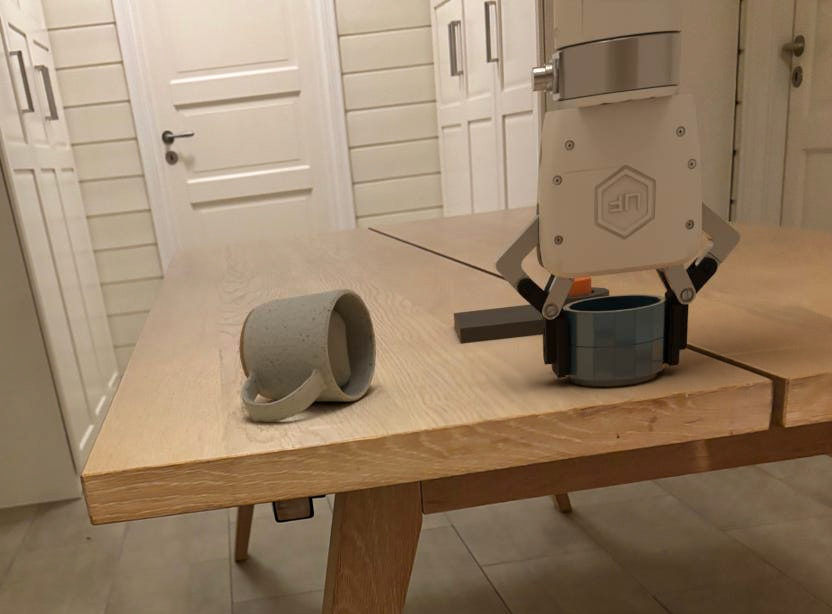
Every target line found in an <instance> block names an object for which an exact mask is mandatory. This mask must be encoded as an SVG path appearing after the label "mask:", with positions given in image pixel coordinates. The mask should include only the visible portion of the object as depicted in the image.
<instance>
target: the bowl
mask: <svg viewBox="0 0 832 614" xmlns="http://www.w3.org/2000/svg"><path fill="white" fill-rule="evenodd" d="M563 316H564V317H565V318H567V319H568V354H569V374H568V375H566V377H567V378H570V380H571V382H572V383H574V384H576V385H579V386H586V387H598V388H609V387H611V388H612V387H623V386H631V385H636V384H637V385H638V384H641V383H644V382H648V381H650V380H654V379H655V378H656V377H657V376H658V373H660V372H662V371H663V370H664V369H665V367H666V363H665V356H666V326H667V299H666V298H665V296H662V295H656V294H639V293H638V294H635V293H634V294H616V295H609V296H605V297H596V298H590V299H585V300H579V301H576V302H572V303H569V304H567V305H565V306H564V307H563Z"/></svg>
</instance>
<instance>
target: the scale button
mask: <svg viewBox="0 0 832 614" xmlns="http://www.w3.org/2000/svg"><path fill="white" fill-rule="evenodd" d="M591 287H592V276H591V277H581V278H575V280H574V282H573V285H572V287H571V289H570V291H569V293H568V296H576V295H585V294H590V293H591Z"/></svg>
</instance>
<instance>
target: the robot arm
mask: <svg viewBox="0 0 832 614" xmlns="http://www.w3.org/2000/svg"><path fill="white" fill-rule="evenodd" d="M682 26H683V0H553V44H554V45H553V47H554V49H553V50H554V51H555V52H554V53H552V56H551V57H552V58H550V59H549V62H544V63H543V65H542V66H533V67H531V71H530V72H531V73H530V74H531V75H530V83H531V91H532V92H539V91H543V92H544V93H549V96H552V101H553V102H554V109H555V110H551V111H546V112H545V114H544V119H543V123H542V132H541V138H540V147H539V157H538V168H537V186H536V212H535V216H534V217H533V218H532V219H531V220H530V221H529V223H527V225H526V226H525V227H524V228H522V230H521V231H520V232H519V233H518V234H517V235H516V236H515V238H513V240H512V241H511V242H510V243H509V244H508V245H507V246H506V247H505V248H504V249H503V250H502V251H501V252H500V254H499V255H498V256H497V257H495V259H494V261H493V265H494V269H495V270H496V271H497V272H498V273H499V274H500V276H502V277H503V279H504V280H505V281H506V282H507V283H508V284H509V285H510V286H511V287H512V288H513V289H514V290H515V291H516V293H518V295H520V296H521V298H523V299H524V300H525V301H526V302H527V303H528V304H529V305H530V304H531V305H532V306H533V307H534V308H535V309H536V310H537V311H539V312H540V313H541V314H542V322H543V335H542V357H543V363H544V365H547V366H548V365H551V371H552V373H553V374H554V375H555V376H556V378H557V379H562V378H566V377H567V376H566V375H568V374H569V354H568V319H567V318H565V317H564V316H563V308H562V307H563V304H564V302H565V300H566V298H567V296H568V293H569V291H570V289H571V287H572V285H573V282H574V280H575V278H581V277H591V278H592V277H598V276H606V275H607V276H609V275H614V274H617V275H618V274H624V273H634V272H644V271H653V270H655V271H656V273H657V275H658V278H659V280H660V281H661V284H662V286H663V288H664V290H665V292H664V298H666V299H667V326H666V356H665V365H668V366H669V367H675V366H679V364H680V354H681V353H680V352H681V351H684V350H685V351H686V349H687V346H688V331H689V328H688V327H689V306H690V305H689V304H691V303H692V302H694V300H695V299H696V297H697V294H698V293H699V292H700V291H701V289H702V288H703V287H704V286H705V285H706V284H707V283H708V282H709V281H710V280H711V279H712V277H713V276H714V275H716V273H717V272H718V269H719V267H720V265H721V264H722V263H723V264H724V262H725V260H726V259H727V258H728V257H729V255H730V254H731V253H732V252H733V250H734V249H735V248H736V247H737V246H738V244H739V242H740V241H741V234H740V233H739V232H738V230H737V229H735V228H734V227H733V226H732V225H730V224H729V223H728V222H726V221H725V220H724V219H723V218H722V217H721V216H719V215H718V214H717V213H716V212H715V211H713V210H712V209H711V208H710V207H709V206H707V205H706V204H705V203H704V202H703V192H702V191H703V189H702V164H701V148H700V147H701V146H700V134H699V123H698V115H697V114H698V113H697V107H696V101H695V96H694V93H693V92H691V93H690V92H689V93H682V94H681V93H680V82H681V57H682V56H681V54H682V53H681V52H682V34H681V33H682V28H683V27H682ZM555 101H556V102H555ZM702 234H703V235H704V236H705V237H706V238H707V245H706V247H705V248H704V249H703V251H702V253H701V254H700V255H699V256H698V253H699V251H700V249H701V243H702ZM535 248H536V249H535ZM534 249H535V250H536V257H537V262H538V264H539V265H540V267H541V268H543V269H545V270H546V271H547V272H548V273H549V274H548V277H547V279H546V282H545V283H544V286H543V288H541V286H539V284H537V283H536V282H535V281H534V280H533V279H532V278H531V277H530V275H528V274H527V272H526V271H525V270H524V269H523V268H522V267H523V266H522V264H523V261H524V260H525V258H526V257H527V256H528V255H529V254H530V253H531V252H532V251H533V250H534ZM696 256H698V257H696ZM695 257H696V258H695ZM694 258H695V259H694ZM693 259H694V260H693ZM691 260H693V261H692V262H691V264H689V266H688V267H687V268H686V267H685V265H684V264H686V263H688V262H689V261H691Z"/></svg>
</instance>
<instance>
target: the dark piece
mask: <svg viewBox="0 0 832 614" xmlns="http://www.w3.org/2000/svg"><path fill="white" fill-rule="evenodd" d="M605 296H610V290H609V289H608V288H606V287H596V286H595V287H594V286H591V293H590V294H585V295H576V296H567V298H566V300H565V302H564V304H563V307H564V306H565V305H567V304H569V303H572V302H576V301H579V300H585V299H590V298H596V297H605ZM563 307H562V308H563ZM453 325H454V329H455V332H456V335H457V338H458V341H459V342H460V343H459V344H461V345H462V344H470V343H478V342H479V343H480V342H489V341H497V340H506V339H507V340H508V339H516V338H524V337H525V338H526V337H535V336H543V322H542V314H541V313H540V312H539V311H537V310H536V309H535V308H534V307H533V306H532V305H531V304H530V303H529V304H523V305H513V306H505V307H495V308H488V309H487V308H486V309H477V310H470V311H468V310H467V311H460V312H454V313H453Z"/></svg>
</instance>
